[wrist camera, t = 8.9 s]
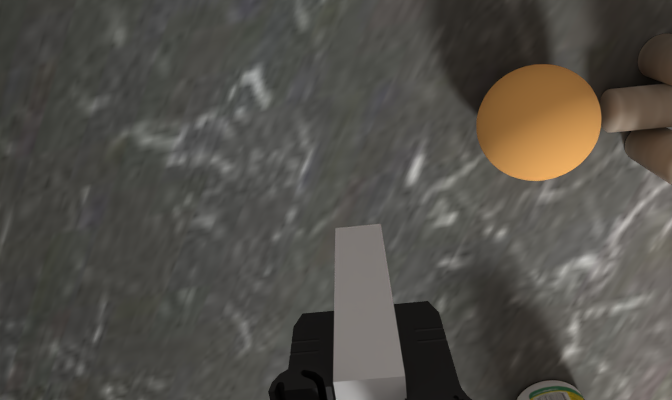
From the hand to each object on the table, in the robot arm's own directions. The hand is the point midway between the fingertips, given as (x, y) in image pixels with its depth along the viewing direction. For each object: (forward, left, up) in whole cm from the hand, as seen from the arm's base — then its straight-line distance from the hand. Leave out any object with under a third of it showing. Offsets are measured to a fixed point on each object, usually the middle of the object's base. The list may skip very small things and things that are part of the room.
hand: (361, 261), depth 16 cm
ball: (+10, +1, -11) cm, 14 cm away
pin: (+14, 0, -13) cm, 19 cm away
